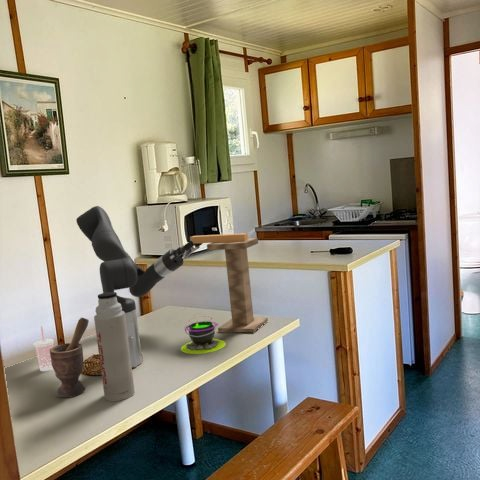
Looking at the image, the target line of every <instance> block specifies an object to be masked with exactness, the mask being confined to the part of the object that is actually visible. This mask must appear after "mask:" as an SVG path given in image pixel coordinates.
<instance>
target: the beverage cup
mask: <svg viewBox="0 0 480 480" xmlns="http://www.w3.org/2000/svg"><path fill="white" fill-rule="evenodd" d="M40 331H41V338H42V339H39V340H37V341H34V342H33V347H34V349H35V353H36V357H37V361H38V366H39V370H40V372H49V371H52V370H54V369H53V367H52V363H51V356H50V349H51V348H53V347H54V341H55V340H54V338H45V336H44V329H43V326H40Z"/></svg>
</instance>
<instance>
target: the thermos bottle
mask: <svg viewBox="0 0 480 480" xmlns="http://www.w3.org/2000/svg"><path fill="white" fill-rule="evenodd" d="M117 295H118V294H117V292H116V291H114V292H107V293H103V292H102V293H100V294H97V301H98V305H97V306H96V307H95V315H94V317H93V321H94V327H95V335H96V341H97V351H98V357H99V365H100V373H101V380H102V386H103V394H104V399H105V401H110V402H119V401H124V400H127V399H129V398H131V397H133V396H134V395H135V393H136V392H135V383H134V376H133V375H134V374H133V369H132V367H131V360H130V350H129V342H128V334H127V326H126V318H125V312H124V311H122V307H121V304H120V303H118V302H117V298H116V296H117Z"/></svg>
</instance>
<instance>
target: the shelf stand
mask: <svg viewBox="0 0 480 480" xmlns="http://www.w3.org/2000/svg"><path fill="white" fill-rule="evenodd" d="M257 244H259V238H258V237H251V238H249V237H248V240H247V241H240V242H217V243H206V249H207V251H221V250H223V251H224V253H225V264H226V265H225V266H226V274H227V275H226V276H227V282H228V293H229V301H230V302H229V304H230V312H231V315H230V316H231V318H230V319H229V320H228V321H226V322H225V323H223V324H222V325H221V326H219V327H218V328H217V331H218V333H232V332H255V331H256V330H257V329H258V328H260V327H261V326H262V325H263V324H264V323H266V322H267V321H268V317H254V309H253V302H252V301H253V297H252V288H251V280H250V279H251V278H250V270H249V259H248V248H250V247H253V246H256V245H257ZM268 322H269V321H268ZM268 322H267V323H268ZM267 323H266V324H267ZM263 326H264V325H263ZM263 326H262V327H263ZM262 327H261V328H262ZM261 328H260V329H261ZM257 331H258V330H257ZM257 331H256V332H257ZM256 332H255V333H256Z"/></svg>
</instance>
